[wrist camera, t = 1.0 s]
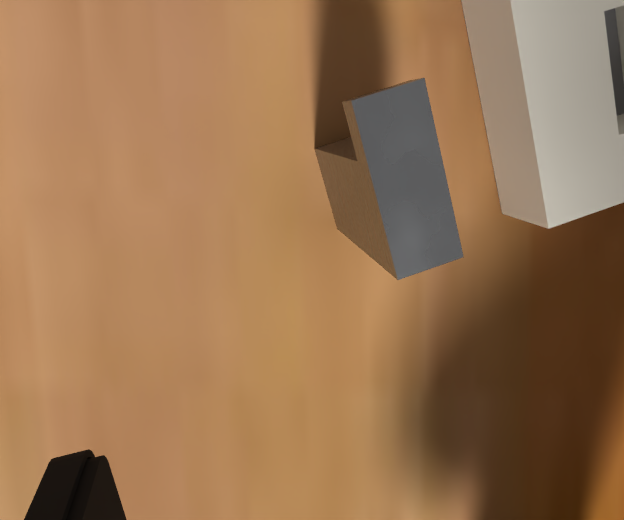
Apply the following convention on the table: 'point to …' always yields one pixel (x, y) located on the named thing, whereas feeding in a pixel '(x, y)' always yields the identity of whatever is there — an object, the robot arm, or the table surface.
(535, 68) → the slotted block
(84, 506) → the robot arm
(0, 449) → the table surface
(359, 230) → the gray metal ingot
